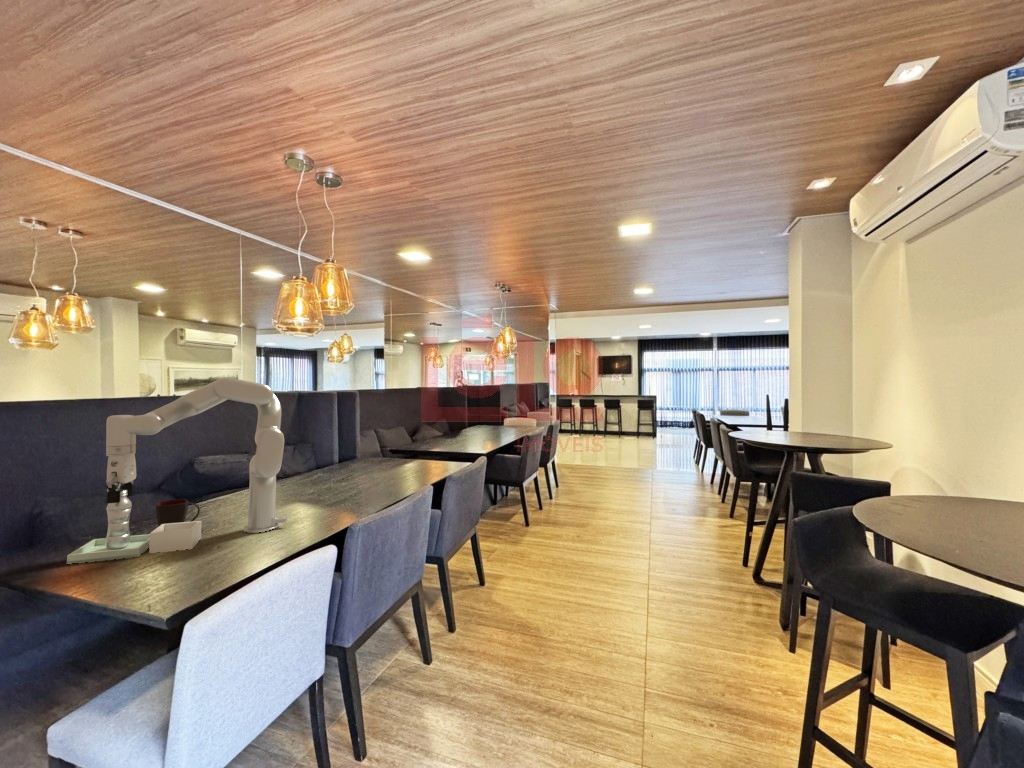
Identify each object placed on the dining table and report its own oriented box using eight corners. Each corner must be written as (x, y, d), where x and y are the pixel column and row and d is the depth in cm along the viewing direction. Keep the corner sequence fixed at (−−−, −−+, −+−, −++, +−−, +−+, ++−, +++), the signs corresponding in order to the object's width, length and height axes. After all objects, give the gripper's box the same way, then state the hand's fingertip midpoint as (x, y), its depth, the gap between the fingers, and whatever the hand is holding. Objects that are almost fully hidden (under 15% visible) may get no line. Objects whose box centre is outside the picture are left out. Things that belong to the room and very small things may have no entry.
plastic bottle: (135, 545, 147) (138, 488, 147) (116, 552, 140) (119, 493, 141) (118, 544, 147) (121, 488, 148) (98, 551, 140) (101, 492, 141)
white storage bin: (200, 539, 157) (201, 520, 157) (191, 549, 146) (192, 529, 147) (161, 543, 152) (162, 524, 152) (149, 553, 142) (150, 533, 142)
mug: (154, 532, 164) (156, 501, 164) (198, 525, 173) (199, 496, 173) (154, 538, 156) (155, 507, 157) (199, 531, 165) (201, 501, 166)
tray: (157, 541, 153) (157, 533, 153) (138, 557, 139) (139, 548, 139) (93, 547, 146) (93, 539, 146) (66, 564, 131) (67, 555, 132)
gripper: (123, 453, 137) (123, 504, 137) (145, 446, 153) (144, 492, 153) (93, 454, 134) (93, 507, 134) (119, 447, 150) (118, 494, 150)
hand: (120, 499), depth 143 cm, fingers open, 9 cm apart
